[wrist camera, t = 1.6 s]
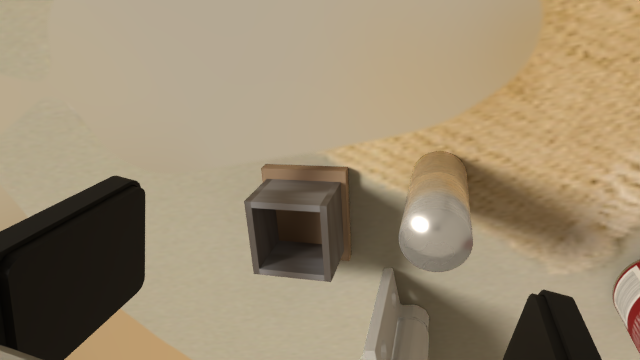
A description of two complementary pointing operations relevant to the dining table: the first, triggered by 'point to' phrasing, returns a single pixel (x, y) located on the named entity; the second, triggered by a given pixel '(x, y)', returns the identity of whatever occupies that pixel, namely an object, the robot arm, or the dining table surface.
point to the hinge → (396, 326)
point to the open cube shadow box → (299, 221)
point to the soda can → (629, 300)
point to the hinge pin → (437, 214)
